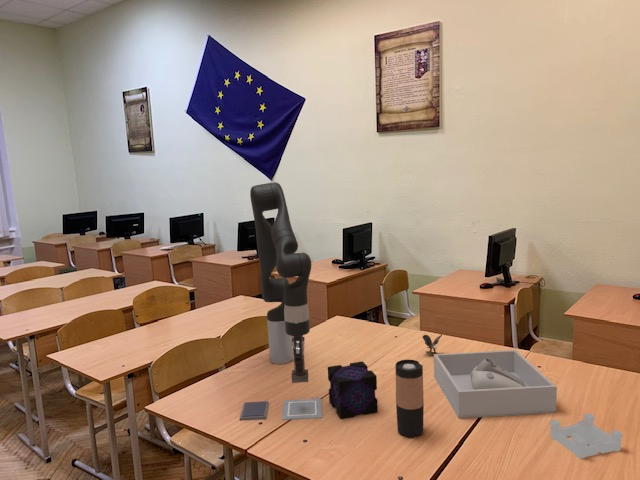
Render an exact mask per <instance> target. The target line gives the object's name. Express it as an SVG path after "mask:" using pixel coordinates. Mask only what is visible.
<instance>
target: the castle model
mask: <svg viewBox="0 0 640 480" xmlns="http://www.w3.org/2000/svg"><path fill="white" fill-rule="evenodd" d="M583 418H584V419H582V420H579V421H576V424H573V425H567V426H562V427H561V422H560V421H558V420H557V419H552V420H549V425H550V438H551V439H553V440H554V441H556V442H558V443H559V444H560V445H561V446H563V447H564V448H565V449H567V450H569V451H570V452H571V453H573V455H574V456H575V457H577V459H579V460H581V459H585V458H586V457H591V456H596V455H599V456H600V457H601V455H600V454H603V455H604V456H605V453H611V452H619V451H621V448H622V438H623V433H622V432H620V431H619V430H617V429H615V430H611V431H610V433H609V434H608V433H607V432H606V431H604V430H603V429H601V428H599V427H598V426H596V425H595V424H594V421H595V415H593V414H591V413H590V412H589V413H584V414H583ZM568 437H571V438H570V439H571V440H570V439H569V438H568Z"/></svg>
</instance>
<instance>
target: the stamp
mask: <svg viewBox="0 0 640 480" xmlns="http://www.w3.org/2000/svg"><path fill="white" fill-rule="evenodd" d="M296 359H301V358H296ZM293 363H294V364H293V365H294V367H293V370H291V383H292V384H297V383H298V384H299V383H300V384H301V383H309V369H307V368H305V367H306V365H305V354H304V355H303V374H296V363H295V362H294V361H293Z"/></svg>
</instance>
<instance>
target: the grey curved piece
mask: <svg viewBox="0 0 640 480" xmlns="http://www.w3.org/2000/svg"><path fill="white" fill-rule="evenodd" d="M471 383H472V387H473V389H474V390H476V389H494V388H512V387H527V386H526V384H525V383H524V382H523V381H522V380H521V379H519V378H518V377H516V376H515V375H513V374H511V373H510V372H508V371H506V370H504V368H501V367H499V366H497V365H495V363H494V362H493V361H492V360H490V359H487V358H485V359H484V360H483V361H482V362H481V363H480V364H479V365H478V366H477V367H475V368H474V369H473V371H472V373H471Z"/></svg>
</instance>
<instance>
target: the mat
mask: <svg viewBox="0 0 640 480" xmlns="http://www.w3.org/2000/svg"><path fill="white" fill-rule="evenodd" d="M282 408H283V409H282V418H281V419H282V420H283V421H285V420H286V421H290V420H309V419H311V420H312V419H313V420H314V419H322V418H323V417H322V414H323V413H322V399H321V398H307V399H306V398H304V399H302V398H301V399H288V400H283V407H282Z"/></svg>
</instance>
